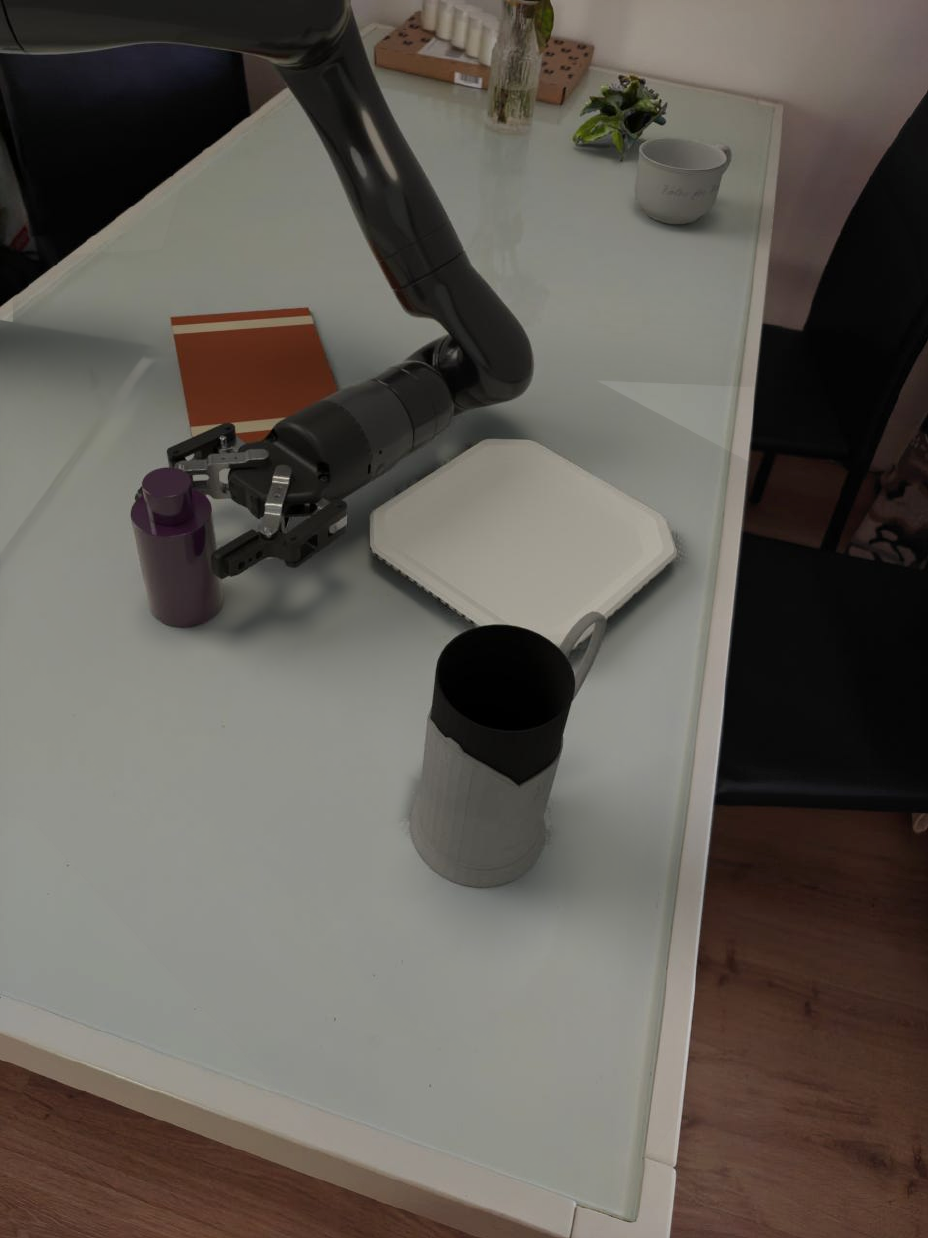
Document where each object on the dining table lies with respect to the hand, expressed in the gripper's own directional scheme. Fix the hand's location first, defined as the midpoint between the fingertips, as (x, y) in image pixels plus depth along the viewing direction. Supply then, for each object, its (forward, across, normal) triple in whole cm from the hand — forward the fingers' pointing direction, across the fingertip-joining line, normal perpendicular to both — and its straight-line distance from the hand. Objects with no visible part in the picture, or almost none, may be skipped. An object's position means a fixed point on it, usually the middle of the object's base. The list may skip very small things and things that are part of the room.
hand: (176, 537), depth 70 cm
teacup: (-88, -12, +6) cm, 89 cm away
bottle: (0, 0, +6) cm, 6 cm away
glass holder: (-4, +28, +7) cm, 29 cm away
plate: (-23, +14, +6) cm, 28 cm away
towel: (-23, -19, +6) cm, 31 cm away
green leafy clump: (-97, -29, +6) cm, 102 cm away
